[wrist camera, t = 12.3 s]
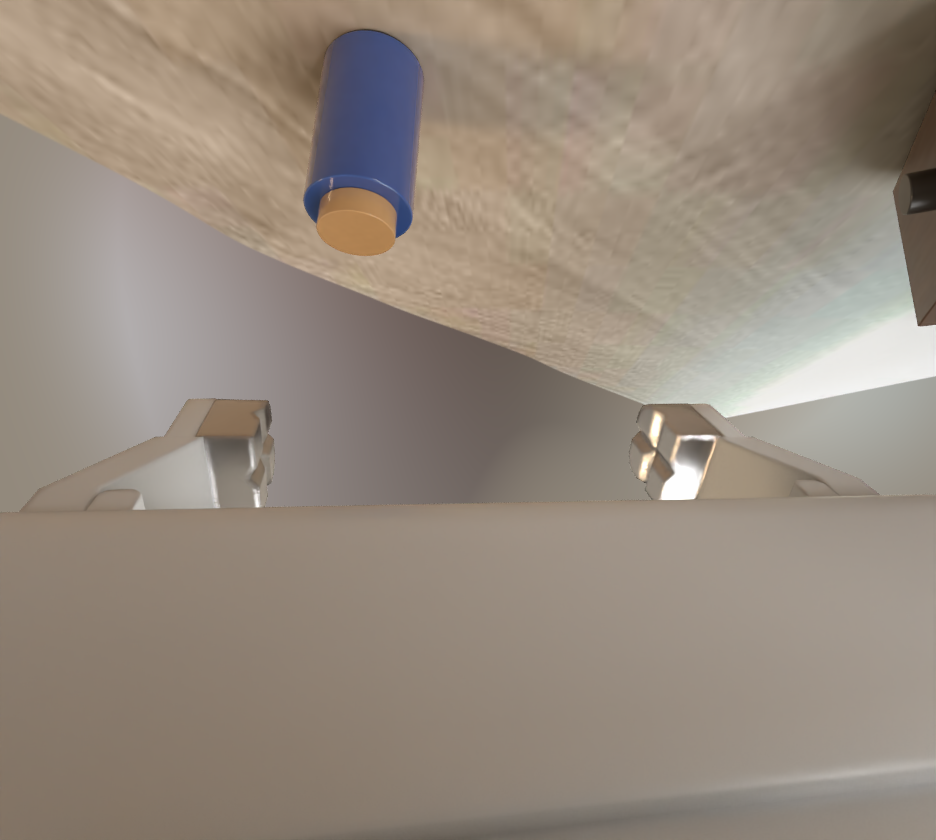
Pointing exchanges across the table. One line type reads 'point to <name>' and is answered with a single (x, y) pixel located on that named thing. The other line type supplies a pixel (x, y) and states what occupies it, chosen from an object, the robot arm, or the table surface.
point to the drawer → (920, 217)
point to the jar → (365, 143)
